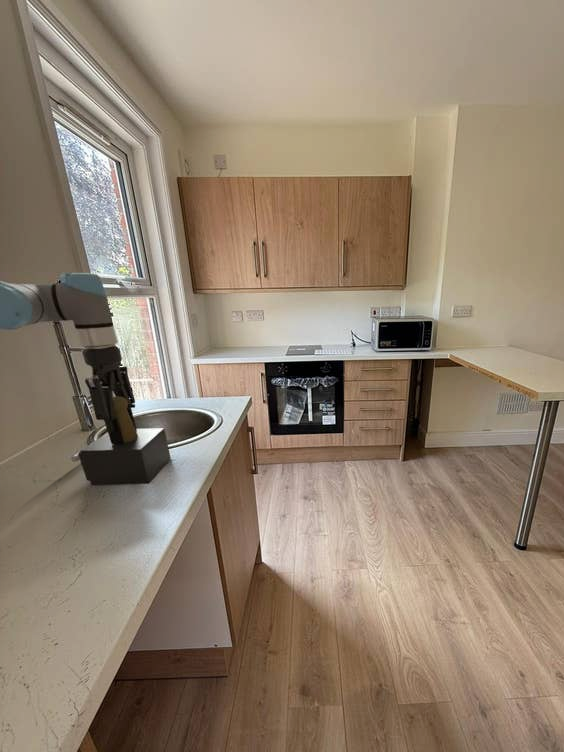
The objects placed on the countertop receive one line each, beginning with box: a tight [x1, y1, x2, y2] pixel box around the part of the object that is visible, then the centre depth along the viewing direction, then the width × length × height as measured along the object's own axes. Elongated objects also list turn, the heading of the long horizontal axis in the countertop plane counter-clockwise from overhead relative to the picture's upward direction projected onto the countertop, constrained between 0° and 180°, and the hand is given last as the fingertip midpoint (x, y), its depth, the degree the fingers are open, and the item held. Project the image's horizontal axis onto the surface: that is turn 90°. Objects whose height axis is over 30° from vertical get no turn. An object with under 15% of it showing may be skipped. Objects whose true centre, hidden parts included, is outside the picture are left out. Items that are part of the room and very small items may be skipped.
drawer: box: [70, 451, 90, 482], centre depth 91 cm, size 18×12×8 cm
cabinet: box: [79, 427, 172, 486], centre depth 91 cm, size 15×14×10 cm
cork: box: [113, 396, 138, 443], centre depth 87 cm, size 6×6×11 cm
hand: (124, 437), depth 89 cm, fingers closed on cork, 6 cm apart
